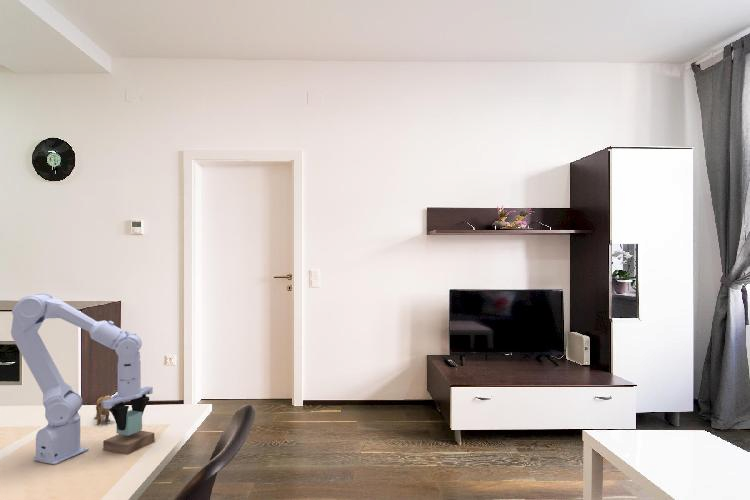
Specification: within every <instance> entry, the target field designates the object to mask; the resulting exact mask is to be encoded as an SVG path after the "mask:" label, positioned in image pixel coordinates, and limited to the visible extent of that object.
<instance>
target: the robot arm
mask: <svg viewBox="0 0 750 500" xmlns="http://www.w3.org/2000/svg"><path fill="white" fill-rule="evenodd" d="M11 314H12V323H11V330H10V335H11V338H12V339H13V341H14V343H15V345H16V346H17V348H18V350H19V353H20V354H21V355H22V357H23V359H24V361H25V363H26V364H27V366H28V368H29V370H30V372H31V374H32V377H34V379H35V381H36V383H37V386H39V389H40V390H41V392H42V405H43V407H44V409H45V410H44V411H45V413H44V417H45V419H46V421H47V425H46V426H45V427H43V428H41V429H39V430H38V431H37V433H36V436H35V457H34V458H33V461H35V462H36V461H37V462H41V463H46V464H49V465H50V464H51V465H56V464H59V463H61V462H64V461H66V460H68V459H71V458H73V457H75V456H77V455H80V454H82V453H84V452H86V451H88V450H89V447H83V446H81V415H80V414H79V410H80V409H81V408H82V405H83V398H82V396H81V395H80V394H79V393H78V392H76V391H75V390H73V388H72V386H71V385H70V384H68V383H67V382H65V380H64V378H63V377H62V375H61V373H60V371H59V369H58V368H57V365H56V363H55V362H54V359H53V358H52V356H51V354H50V353H49V350H48V348H47V347H46V345H45V342H43V340H42V339H43V338H42V337H41V336H40V334H39V330H40V328H41V326H42V324H43V322H44V321H45V320H46V319H60V320H63V321H65V322H68V323H69V324H71V325H74V326H76V327H78V328H80V329H82V330H85V331H86V332H88V333H89V336H90V339H92V340H93V341H95V342H97V343H99V344H101V345H103V346H105V347H107V348H109V349H111V350H115V353H116V355H117V360H118V362H117V394H116V395H114V396H111V398H110V399H108V400H105V401H103V408H106V409H109V410H110V412H109V413H111V415H112V417H113V418H114V421H115V425H116V429H117V428H118V430H125V428H126V416H127V411H129V408H130V407H131V410H132V411H139V412H142V416H143V414H144V412H145V408H146V407H147V404H149V401H150V396H147V395H152V394H154V393H153V387H152V386H145V387H142V386H141V385H142V383H141V379H142V378H141V373H142V372H141V371H142V369H141V365H142V364H141V352H140V350H141V348H142V345H143V344H142V343H143V342H142V338H140V336H138V335H137V333H132V332H131V333H130V331H129V330H123V329H122V328H120V327H118V326H116V325H115V323H114V321H112V320H109V321H107V320H106V319H105V320H99V321H97V320H95V319H94V318H92V317H90V316H89V315H87V314H85V313H83V312H82V311H80V310H79V309H77V308H75V307H74V306H71V305H69V304H68V303H67V302H65V301H63V300H61V299H59V298H57V297H53V296H51V294H47V293H38V294H35V295H26V296H24V297H21V298H20V299H19V300H18V301H17V302H16V304H15V306H14V307H13V308H12V310H11ZM127 402H130V405H131V406H130V405H125V403H127Z"/></svg>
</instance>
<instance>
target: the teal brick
mask: <svg viewBox="0 0 750 500" xmlns="http://www.w3.org/2000/svg"><path fill="white" fill-rule="evenodd" d="M140 430H141V431H143V415H142V412H139V411H132V409H130V410H128V411H127V416H126V428H125V430H118V428H117V427H116V435H118V434H123V435H131V434H133V433H135V432H138V431H140Z"/></svg>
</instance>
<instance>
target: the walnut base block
mask: <svg viewBox="0 0 750 500" xmlns="http://www.w3.org/2000/svg"><path fill="white" fill-rule="evenodd" d="M154 442H155V432H151V431H146V430H140V431H138V432H135V433H133V434H131V435H123V434H116V435H113V436H111V437H109V438H107V439H105V440H102V446H103V447H102V450H103V451H107V452H112V453H113V452H114V453H117V454H118V453H119V454H124V455H129V454H131V453H134V452H136V451H138V450H140V449H142V448H144V447H147V446H148V445H150V444H152V443H154Z"/></svg>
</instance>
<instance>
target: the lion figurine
mask: <svg viewBox="0 0 750 500" xmlns="http://www.w3.org/2000/svg"><path fill="white" fill-rule="evenodd" d="M110 398H112V396H111V395H105V396H101V397H99V398H97V401H96V406H95V411H96V415H95V417H94V419H95V420H96V419H97V422H96V425H101V424H102V418H101V417H102V416H105V418H104V421H105V422H106V423H109V422H111V419H110V418H109V416H110V413H111V412H110V410H109V409H106V408H103V401H105V400H108V399H110Z"/></svg>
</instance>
